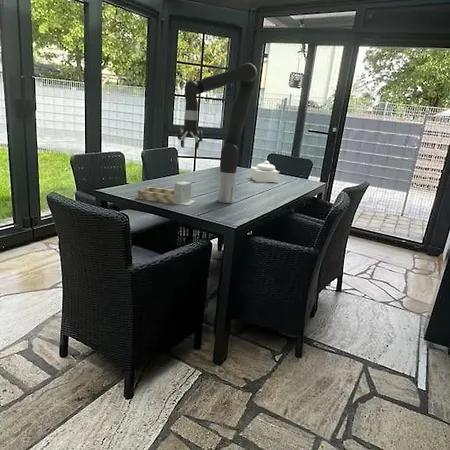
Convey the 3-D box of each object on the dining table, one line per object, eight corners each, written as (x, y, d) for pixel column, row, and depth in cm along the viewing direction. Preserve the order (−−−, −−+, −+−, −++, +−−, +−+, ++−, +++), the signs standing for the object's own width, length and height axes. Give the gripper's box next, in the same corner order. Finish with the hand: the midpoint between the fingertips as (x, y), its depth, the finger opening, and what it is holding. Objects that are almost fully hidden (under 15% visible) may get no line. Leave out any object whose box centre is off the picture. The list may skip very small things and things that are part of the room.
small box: (183, 199, 208) (184, 181, 205) (190, 201, 205) (191, 182, 202) (173, 201, 202) (174, 182, 199) (180, 203, 199) (181, 184, 196)
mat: (195, 201, 208) (195, 200, 207) (188, 205, 197) (188, 205, 197) (180, 199, 210) (180, 198, 209) (173, 203, 199) (173, 202, 199)
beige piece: (181, 198, 210) (181, 191, 209) (172, 203, 198) (172, 195, 197) (148, 194, 215) (148, 186, 214) (138, 198, 203) (138, 190, 202)
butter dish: (256, 182, 281) (258, 161, 276) (250, 177, 297) (252, 158, 293) (277, 183, 285) (280, 162, 280) (270, 178, 301) (272, 159, 296)
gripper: (205, 120, 208) (203, 149, 213) (181, 117, 211) (180, 146, 216) (200, 120, 201) (199, 150, 206) (176, 117, 204) (175, 147, 209)
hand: (189, 148), depth 211 cm, fingers open, 8 cm apart
